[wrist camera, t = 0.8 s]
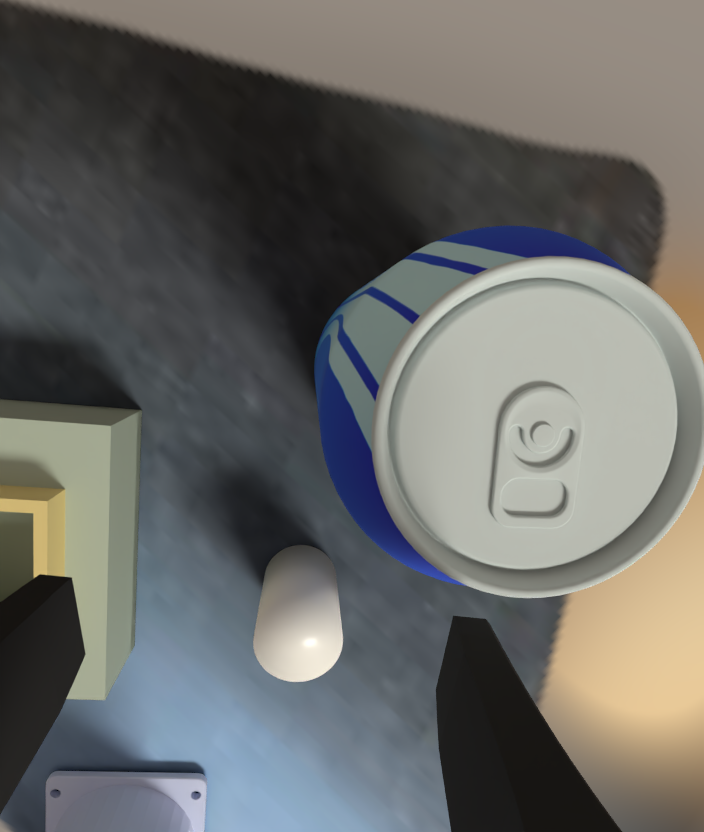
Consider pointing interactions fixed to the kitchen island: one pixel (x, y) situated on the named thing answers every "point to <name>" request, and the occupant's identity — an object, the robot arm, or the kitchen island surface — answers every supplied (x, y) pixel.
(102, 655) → the square stacking base
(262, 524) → the kitchen island surface
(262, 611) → the pellet
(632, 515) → the beer can
